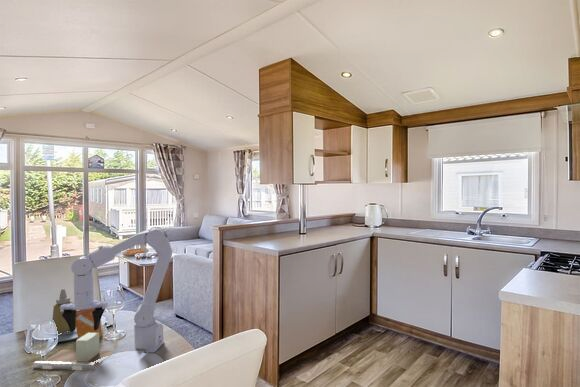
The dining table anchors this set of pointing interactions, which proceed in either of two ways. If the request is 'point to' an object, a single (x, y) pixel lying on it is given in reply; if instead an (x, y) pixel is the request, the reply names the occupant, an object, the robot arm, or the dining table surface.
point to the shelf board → (70, 361)
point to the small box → (86, 323)
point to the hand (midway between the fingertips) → (84, 330)
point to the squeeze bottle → (57, 315)
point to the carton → (87, 347)
